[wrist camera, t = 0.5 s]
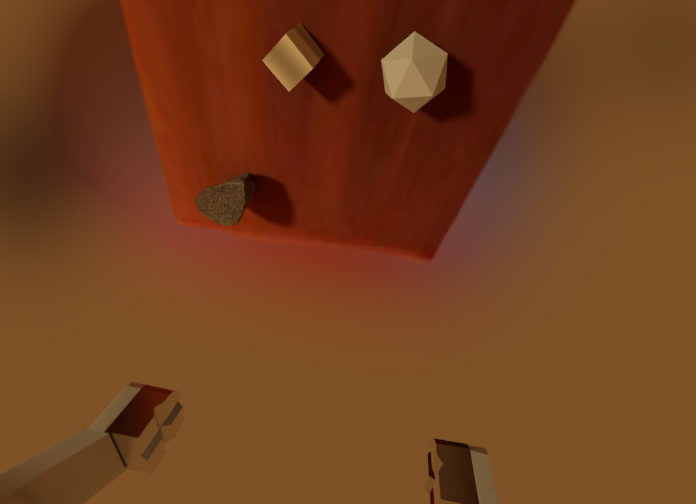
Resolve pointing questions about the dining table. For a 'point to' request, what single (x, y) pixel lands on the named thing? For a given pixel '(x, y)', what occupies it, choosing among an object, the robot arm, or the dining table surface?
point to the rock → (227, 200)
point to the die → (414, 72)
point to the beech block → (293, 57)
